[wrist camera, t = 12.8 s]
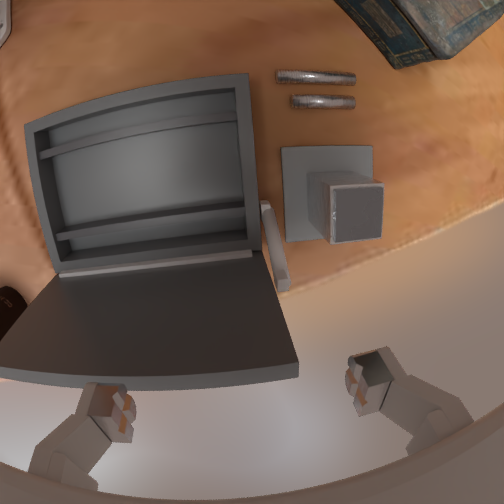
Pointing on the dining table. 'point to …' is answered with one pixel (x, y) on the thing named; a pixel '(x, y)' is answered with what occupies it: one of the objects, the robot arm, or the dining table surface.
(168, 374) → the case
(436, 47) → the metal box
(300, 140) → the dining table surface
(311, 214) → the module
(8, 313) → the coffee mug
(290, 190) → the pad
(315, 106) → the rods
